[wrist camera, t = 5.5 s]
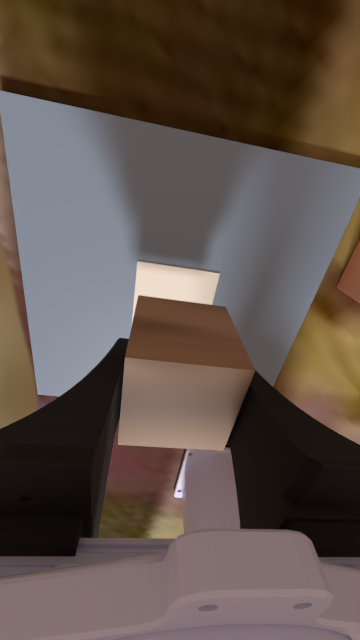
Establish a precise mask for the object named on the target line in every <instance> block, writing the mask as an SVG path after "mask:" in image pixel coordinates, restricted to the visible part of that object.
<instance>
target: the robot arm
mask: <svg viewBox="0 0 360 640" xmlns="http://www.w3.org/2000/svg"><path fill="white" fill-rule="evenodd" d="M128 341H129V339H127V338H119V339H117V341H116V343H115V344H114V345H113V347H112V348H111V349H110V351H109V352H108V353H107V354H106V355H105V357H104V358H103V359H102V360H101V361H100V362H99V363H98V364H97V365H96V366H95V367H94V368H93V369H92V370H91V371H90V372H89V373H88V374H87V375H86V376H85V377H84V378H83V379H82V380H80V381H79V382H78V383H77V384H76V385H74V386H73V387H72V388H71V389H69V390H68V391H67V392H65V393H64V394H62V395H61V396H60V397H58V398H57V399H55V400H54V401H52V402H51V403H49V404H47V405H46V406H44V407H42V408H41V409H39V410H37V411H36V412H34V413H32V414H30V415H28V416H26V417H24V418H22V419H20V420H18V421H16V422H14V423H12V424H10V425H8V426H6V427H4V428H2V429H0V640H360V445H359V444H357V443H355V442H353V441H351V440H349V439H347V438H345V437H344V436H342V435H340V434H338V433H337V432H335V431H333V430H331V429H330V428H328V427H326V426H325V425H323V424H322V423H320V422H318V421H317V420H315V419H314V418H312V417H311V416H309V415H308V414H306V413H305V412H304V411H302V410H301V409H299V408H298V407H297V406H295V405H294V404H293V403H292V402H290V401H289V400H288V399H286V398H285V397H284V396H283V395H282V394H280V393H279V392H278V391H277V390H276V389H275V388H274V387H273V386H271V385H270V384H269V383H268V382H267V381H266V380H265V379H264V378H263V377H262V376H261V375H260V374H259V373H258V372H257V371H256V370H255V373H254V375H253V378H252V380H251V383H250V385H249V388H248V390H247V393H246V395H245V398H244V400H243V403H242V405H241V408H240V410H239V413H238V415H237V418H236V420H235V423H234V426H233V428H232V431H231V433H230V436H229V438H228V440H229V445H230V448H228V447H225V448H224V451H219V450H201V449H186V452H185V455H184V459H183V462H182V466H181V469H180V473H179V476H178V480H177V483H176V487H175V490H174V496H175V497H176V498H182V505H183V523H184V534H182V535H180V536H178V537H177V538H176V539H147V538H97V537H98V531H99V525H100V519H101V512H102V506H103V500H104V494H105V488H106V482H107V476H108V470H109V464H110V458H111V453H112V447H113V441H114V437H115V432H116V429H117V425H118V421H119V418H120V411H121V399H122V387H123V375H124V363H125V355H126V350H127V345H128Z"/></svg>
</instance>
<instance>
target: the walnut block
mask: <svg viewBox="0 0 360 640" xmlns="http://www.w3.org/2000/svg"><path fill="white" fill-rule="evenodd" d="M254 373H255V369H254V367H253V365H252V362H251V360H250V358H249V356H248V354H247V352H246V349H245V347H244V345H243V343H242V341H241V339H240V336H239V334H238V332H237V330H236V328H235V326H234V323H233V321H232V319H231V317H230V315H229V313H228V310H227V308H226V307H224V306H217V305H209V304H201V303H194V302H186V301H179V300H171V299H163V298H156V297H148V296H141V295H138V299H137V304H136V308H135V313H134V318H133V322H132V327H131V332H130V336H129V341H128V345H127V350H126V355H125V363H124V375H123V387H122V399H121V411H120V423H119V436H118V445H133V446H150V447H167V448H184V449H201V450H219V451H224V448H225V446H226V443H227V441H228V438H229V436H230V433H231V431H232V428H233V426H234V423H235V420H236V418H237V415H238V413H239V410H240V408H241V405H242V403H243V400H244V398H245V395H246V393H247V390H248V388H249V385H250V383H251V380H252V378H253V375H254Z"/></svg>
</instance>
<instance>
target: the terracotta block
mask: <svg viewBox="0 0 360 640" xmlns="http://www.w3.org/2000/svg"><path fill="white" fill-rule="evenodd" d="M336 288H338V289H339V290H340V291H342V292H343V293H345V294H346V295H348V296H349V297H351V298H352V299H354V300H355V301H357V302H358V303H360V240H359V242H358V244H357V246H356V248H355V250H354V252H353V254H352V256H351V258H350V260H349V262H348V264H347V266H346V268H345V270H344V272H343V274H342V276H341V278H340V280H339V282H338V284H337V286H336Z"/></svg>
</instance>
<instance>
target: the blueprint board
mask: <svg viewBox="0 0 360 640" xmlns="http://www.w3.org/2000/svg"><path fill="white" fill-rule="evenodd" d="M0 113H1V120H2V128H3V135H4V143H5V150H6V158H7V166H8V173H9V181H10V188H11V196H12V203H13V211H14V218H15V226H16V233H17V241H18V248H19V256H20V264H21V271H22V279H23V286H24V294H25V301H26V309H27V316H28V324H29V331H30V339H31V346H32V354H33V362H34V369H35V377H36V384H37V392H38V395H50V396H61V395H62V394H64V393H65V392H67V391H68V390H69V389H71V388H72V387H73V386H74V385H76V384H77V383H78V382H79V381H80V380H82V379H83V378H84V377H85V376H86V375H87V374H88V373H89V372H90V371H91V370H92V369H93V368H94V367H95V366H96V365H97V364H98V363H99V362H100V361H101V360H102V359H103V358H104V357H105V355H106V354H107V353H108V352H109V351H110V349H111V348H112V347H113V345H114V344H115V343H116V341H117V339H119V338H127V339H129V336H130V332H131V327H132V322H133V318H134V313H135V308H136V304H137V299H138V295H141V296H148V297H156V298H163V299H171V300H179V301H186V302H194V303H201V304H209V305H217V306H224V307H226V308H227V310H228V313H229V315H230V317H231V319H232V321H233V323H234V326H235V328H236V330H237V332H238V334H239V336H240V339H241V341H242V343H243V345H244V347H245V349H246V352H247V354H248V356H249V358H250V360H251V362H252V365H253V367H254V369H255V370H256V371H257V372H258V373H259V374H260V375H261V376H262V377H263V378H264V379H265V380H266V381H267V382H268V383H269V384H270V385H271V386H274V384H275V382H276V379H277V377H278V375H279V373H280V371H281V369H282V366H283V364H284V362H285V360H286V358H287V356H288V353H289V351H290V349H291V347H292V345H293V342H294V340H295V338H296V336H297V334H298V332H299V329H300V327H301V325H302V323H303V321H304V319H305V316H306V314H307V312H308V310H309V308H310V305H311V303H312V301H313V299H314V297H315V295H316V292H317V290H318V288H319V286H320V284H321V282H322V279H323V277H324V275H325V273H326V271H327V268H328V266H329V264H330V262H331V260H332V258H333V255H334V253H335V251H336V249H337V247H338V244H339V242H340V240H341V238H342V236H343V234H344V231H345V229H346V227H347V225H348V223H349V221H350V218H351V216H352V214H353V212H354V210H355V207H356V205H357V203H358V201H359V199H360V168H356V167H351V166H346V165H342V164H337V163H332V162H328V161H323V160H319V159H314V158H309V157H305V156H300V155H296V154H291V153H286V152H282V151H277V150H272V149H268V148H263V147H259V146H254V145H249V144H245V143H240V142H236V141H231V140H226V139H222V138H217V137H212V136H208V135H203V134H199V133H194V132H189V131H185V130H180V129H176V128H171V127H166V126H162V125H157V124H152V123H148V122H143V121H139V120H134V119H129V118H125V117H120V116H115V115H111V114H106V113H102V112H97V111H92V110H88V109H83V108H79V107H74V106H69V105H65V104H60V103H55V102H51V101H46V100H42V99H37V98H32V97H28V96H23V95H19V94H14V93H9V92H5V91H0Z"/></svg>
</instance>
